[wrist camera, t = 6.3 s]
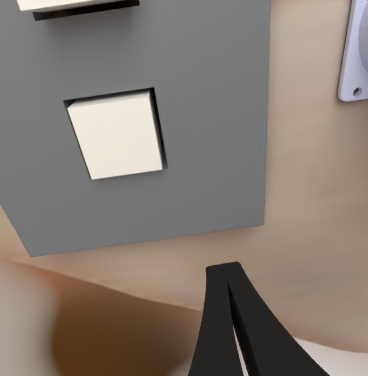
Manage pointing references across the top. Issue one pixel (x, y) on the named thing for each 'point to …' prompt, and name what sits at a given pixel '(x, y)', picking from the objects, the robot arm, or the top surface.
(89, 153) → the button
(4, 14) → the button board
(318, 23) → the top surface
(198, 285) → the top surface
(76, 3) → the button middle
